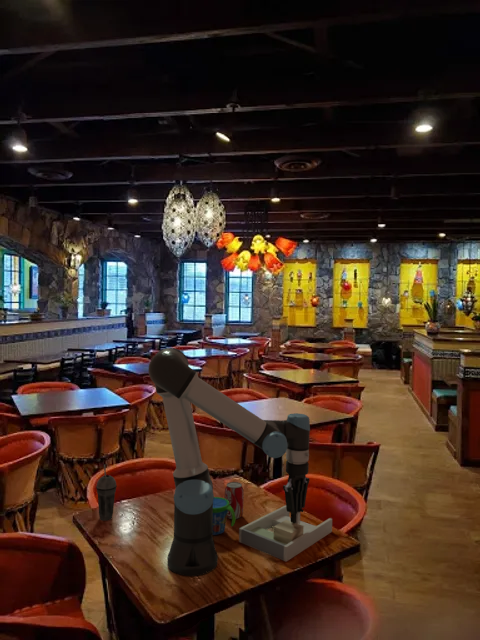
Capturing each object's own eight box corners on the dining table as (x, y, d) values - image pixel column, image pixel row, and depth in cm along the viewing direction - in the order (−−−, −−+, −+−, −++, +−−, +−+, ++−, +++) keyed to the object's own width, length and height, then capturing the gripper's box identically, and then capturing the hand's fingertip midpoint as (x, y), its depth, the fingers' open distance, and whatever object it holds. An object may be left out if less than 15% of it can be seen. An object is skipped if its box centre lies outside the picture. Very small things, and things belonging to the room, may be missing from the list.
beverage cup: (120, 516, 181) (121, 462, 181) (106, 524, 175) (107, 468, 174) (105, 512, 184) (106, 459, 184) (91, 519, 178) (92, 464, 178)
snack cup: (186, 531, 170) (186, 502, 170) (204, 520, 179) (204, 492, 179) (224, 543, 162) (224, 512, 162) (240, 531, 171) (241, 502, 171)
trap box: (286, 561, 151) (286, 547, 151) (238, 541, 163) (239, 528, 163) (331, 531, 173) (332, 518, 172) (287, 516, 185) (287, 504, 185)
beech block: (291, 545, 156) (291, 533, 156) (273, 538, 161) (273, 526, 161) (303, 538, 162) (303, 526, 162) (285, 531, 166) (285, 519, 166)
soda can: (242, 520, 180) (243, 488, 180) (223, 520, 180) (224, 487, 180) (243, 512, 187) (243, 481, 187) (224, 512, 187) (225, 481, 187)
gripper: (296, 467, 157) (293, 541, 157) (317, 459, 167) (314, 528, 167) (276, 462, 161) (274, 534, 162) (298, 454, 171) (296, 521, 172)
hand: (295, 531), depth 165 cm, fingers closed
